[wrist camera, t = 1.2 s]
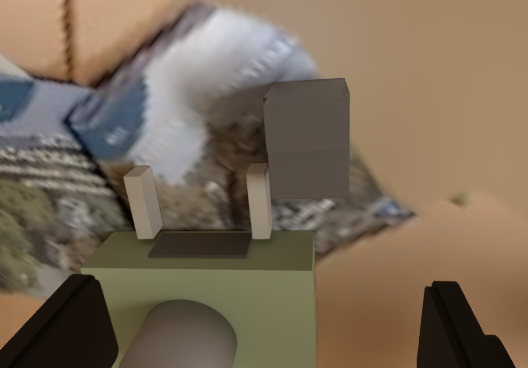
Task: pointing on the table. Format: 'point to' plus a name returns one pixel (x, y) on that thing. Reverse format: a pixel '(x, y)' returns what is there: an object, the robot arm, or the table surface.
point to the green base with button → (208, 288)
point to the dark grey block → (308, 138)
